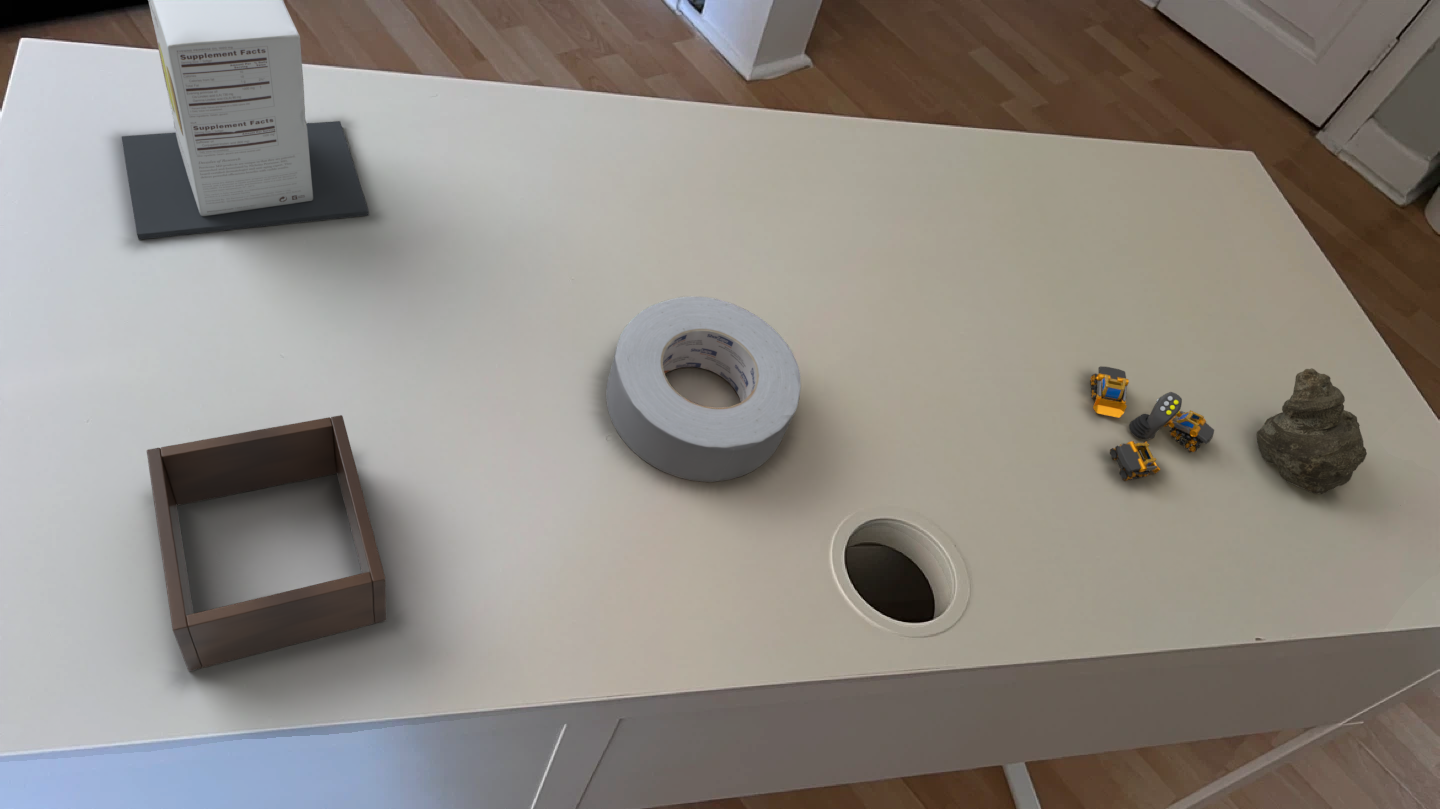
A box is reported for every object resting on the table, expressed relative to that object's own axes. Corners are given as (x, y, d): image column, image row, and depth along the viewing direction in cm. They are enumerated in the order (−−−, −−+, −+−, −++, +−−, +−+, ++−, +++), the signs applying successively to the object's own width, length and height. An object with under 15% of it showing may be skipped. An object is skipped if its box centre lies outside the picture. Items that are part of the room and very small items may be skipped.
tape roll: (796, 487, 86) (814, 452, 82) (607, 477, 82) (618, 439, 78) (773, 341, 95) (789, 303, 91) (603, 327, 91) (612, 286, 87)
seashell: (1338, 354, 103) (1256, 354, 100) (1448, 396, 92) (1361, 397, 89) (1304, 462, 107) (1224, 465, 103) (1406, 514, 96) (1321, 518, 93)
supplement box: (176, 144, 92) (138, -34, 79) (287, 130, 96) (269, -41, 83) (200, 220, 87) (165, 44, 74) (316, 203, 91) (301, 33, 79)
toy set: (1052, 437, 96) (1078, 405, 92) (1095, 368, 103) (1121, 336, 99) (1170, 515, 93) (1201, 486, 90) (1206, 439, 100) (1236, 409, 97)
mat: (138, 239, 86) (136, 234, 85) (122, 141, 91) (121, 135, 91) (368, 215, 93) (368, 210, 92) (340, 125, 99) (340, 120, 98)
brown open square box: (188, 672, 66) (172, 630, 62) (162, 498, 73) (146, 449, 68) (386, 621, 71) (385, 578, 67) (345, 462, 78) (342, 414, 73)
